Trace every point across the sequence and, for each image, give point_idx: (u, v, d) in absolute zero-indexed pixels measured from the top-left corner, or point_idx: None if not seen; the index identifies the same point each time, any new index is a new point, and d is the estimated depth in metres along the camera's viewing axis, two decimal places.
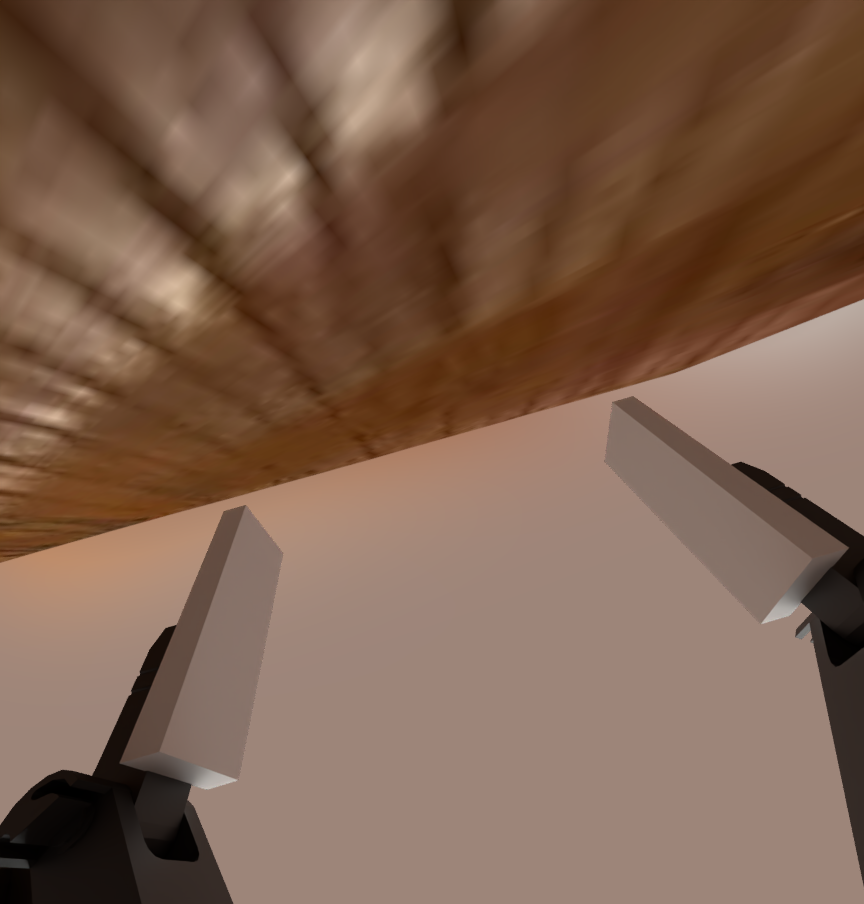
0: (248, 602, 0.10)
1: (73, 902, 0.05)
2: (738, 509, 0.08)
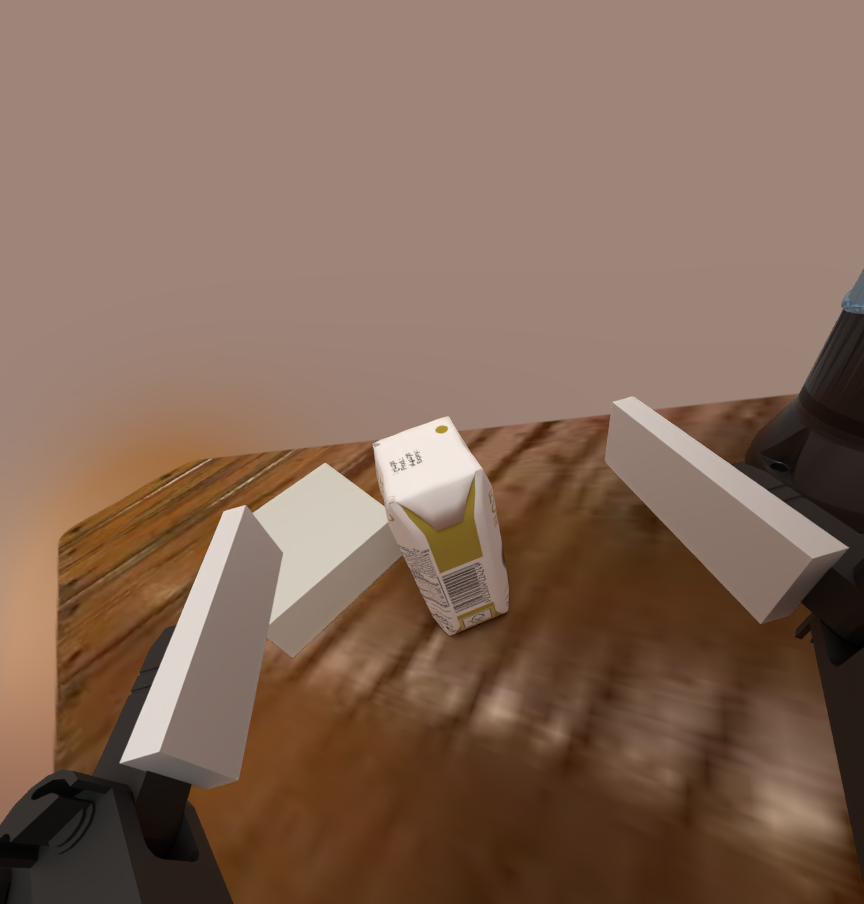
0: (248, 602, 0.10)
1: (73, 902, 0.05)
2: (738, 509, 0.08)
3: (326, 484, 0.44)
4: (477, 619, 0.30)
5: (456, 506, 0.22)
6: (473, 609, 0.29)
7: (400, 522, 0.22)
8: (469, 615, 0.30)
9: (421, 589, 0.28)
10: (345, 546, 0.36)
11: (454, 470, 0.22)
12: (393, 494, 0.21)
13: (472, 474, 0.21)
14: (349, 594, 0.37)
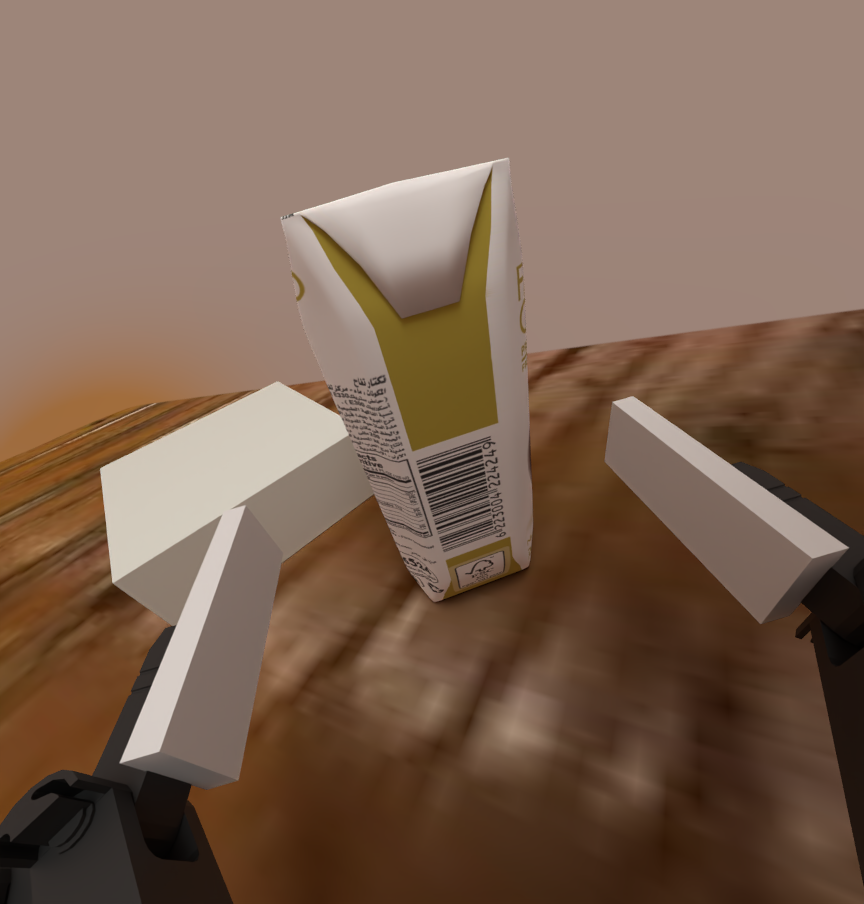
0: (248, 602, 0.10)
1: (73, 902, 0.05)
2: (738, 509, 0.08)
3: (272, 401, 0.32)
4: (481, 571, 0.18)
5: (447, 257, 0.10)
6: (475, 548, 0.17)
7: (317, 288, 0.09)
8: (468, 561, 0.17)
9: (382, 504, 0.15)
10: (279, 465, 0.23)
11: None
12: None
13: (485, 170, 0.09)
14: (285, 542, 0.24)
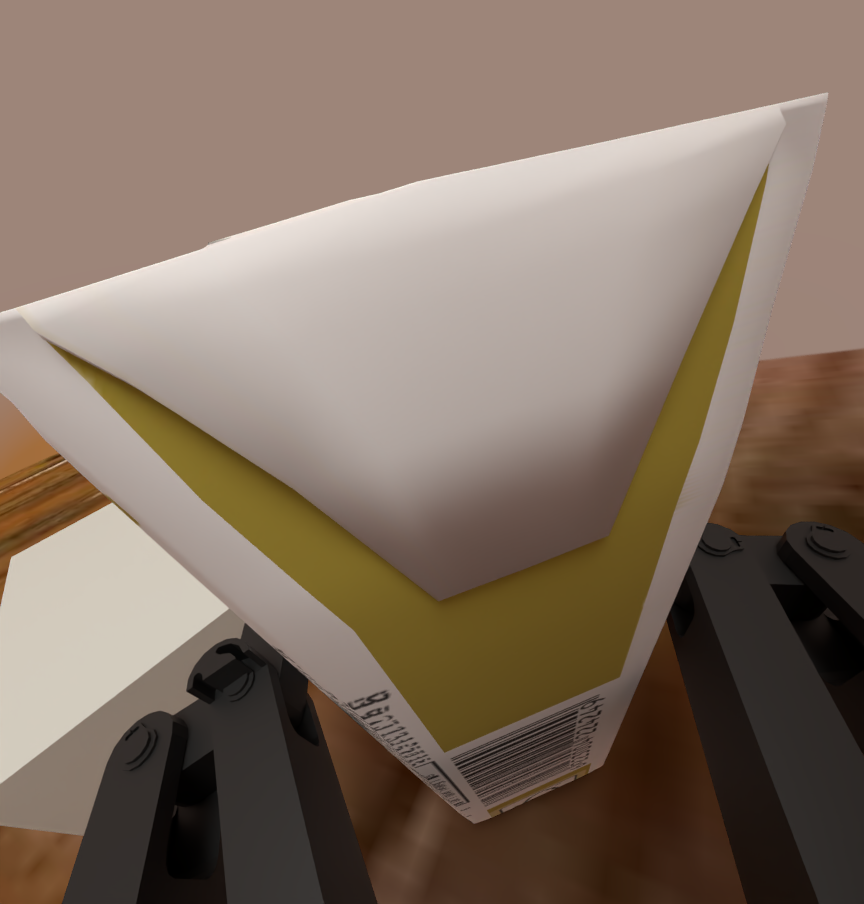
0: None
1: (240, 743, 0.06)
2: None
3: None
4: (537, 795, 0.11)
5: (591, 422, 0.03)
6: (535, 787, 0.10)
7: (159, 536, 0.03)
8: (521, 798, 0.10)
9: (381, 744, 0.09)
10: None
11: None
12: (68, 291, 0.02)
13: (751, 138, 0.03)
14: None
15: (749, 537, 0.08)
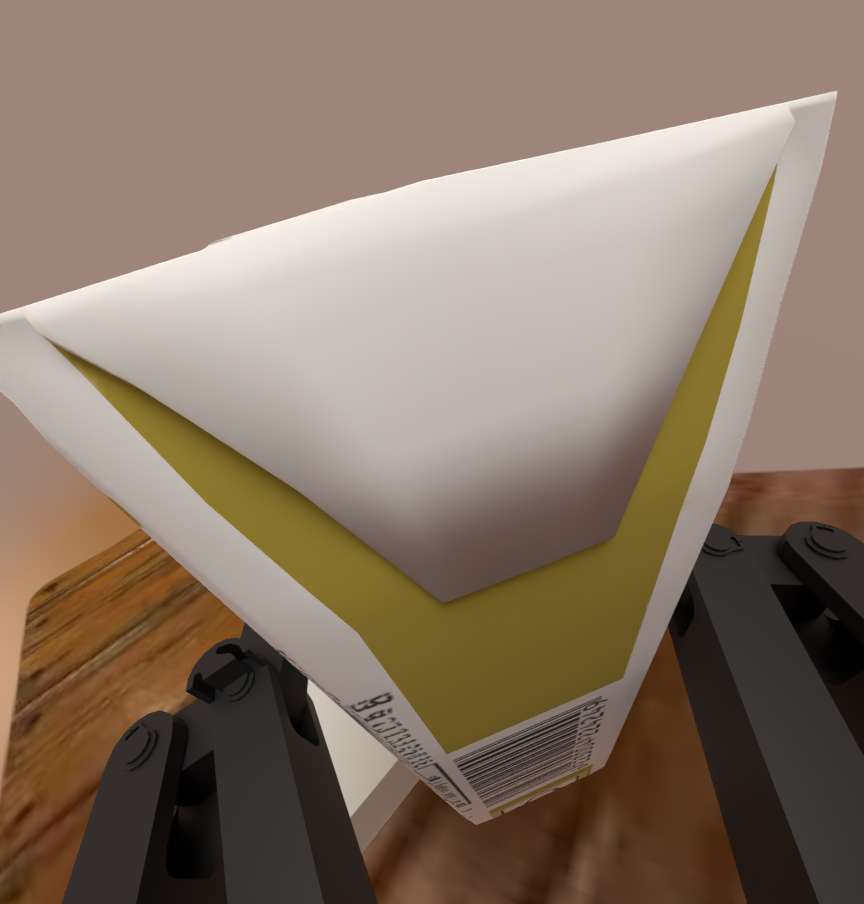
0: None
1: (240, 743, 0.06)
2: None
3: None
4: None
5: (596, 423, 0.03)
6: (537, 788, 0.10)
7: (162, 539, 0.03)
8: (522, 800, 0.10)
9: (383, 745, 0.09)
10: None
11: None
12: (71, 292, 0.02)
13: (759, 138, 0.02)
14: None
15: (749, 537, 0.08)
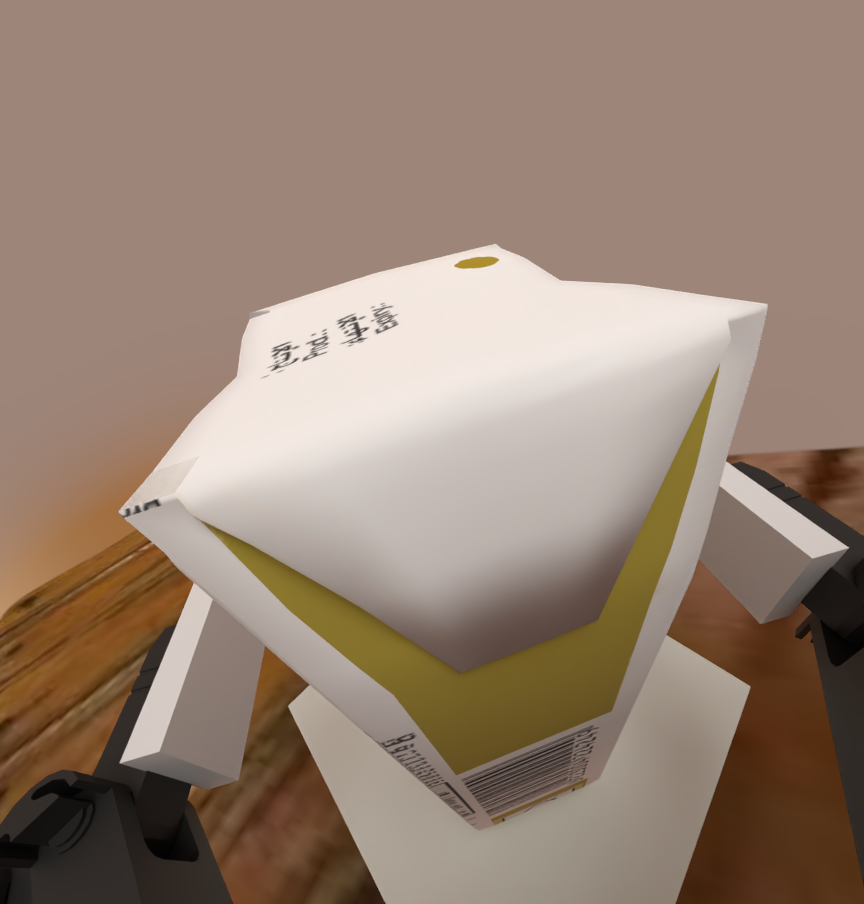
0: None
1: (73, 902, 0.05)
2: (738, 509, 0.08)
3: None
4: None
5: (583, 541, 0.04)
6: (535, 799, 0.11)
7: (248, 626, 0.04)
8: (522, 808, 0.11)
9: None
10: (664, 786, 0.14)
11: (578, 329, 0.04)
12: (192, 455, 0.03)
13: (706, 341, 0.03)
14: None
15: None
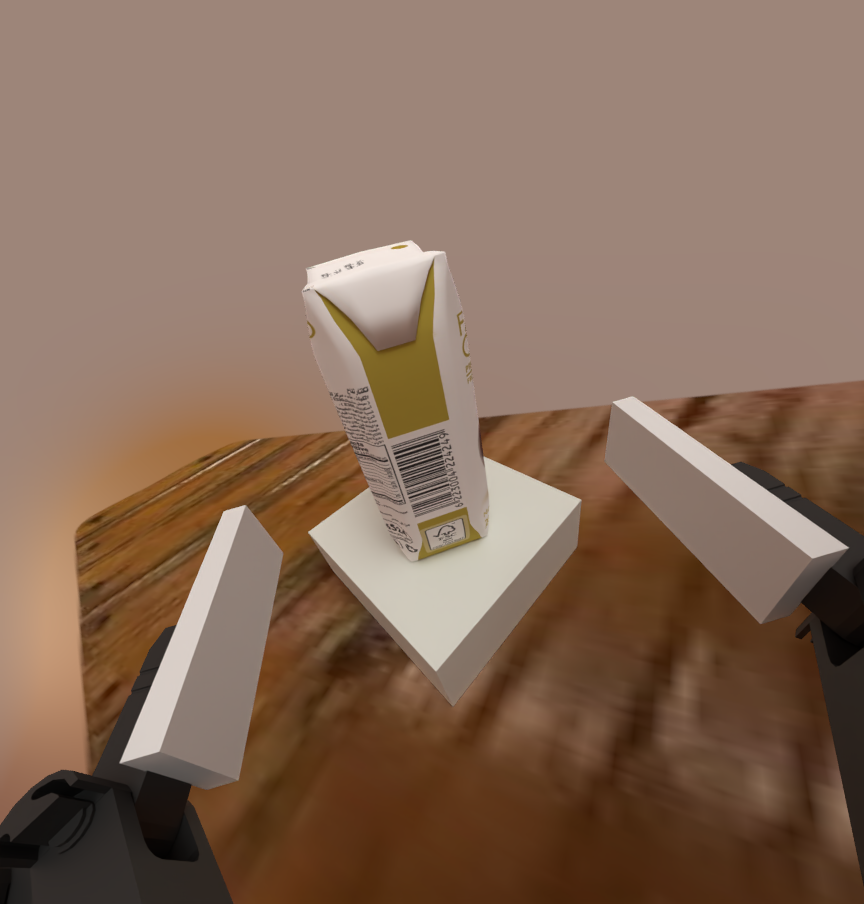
0: (248, 602, 0.10)
1: (73, 902, 0.05)
2: (738, 509, 0.08)
3: None
4: (446, 534, 0.23)
5: (407, 312, 0.15)
6: (439, 515, 0.22)
7: (323, 331, 0.15)
8: (434, 525, 0.22)
9: (369, 480, 0.21)
10: (521, 541, 0.25)
11: (405, 258, 0.15)
12: (312, 285, 0.14)
13: (430, 260, 0.14)
14: (519, 611, 0.26)
15: None
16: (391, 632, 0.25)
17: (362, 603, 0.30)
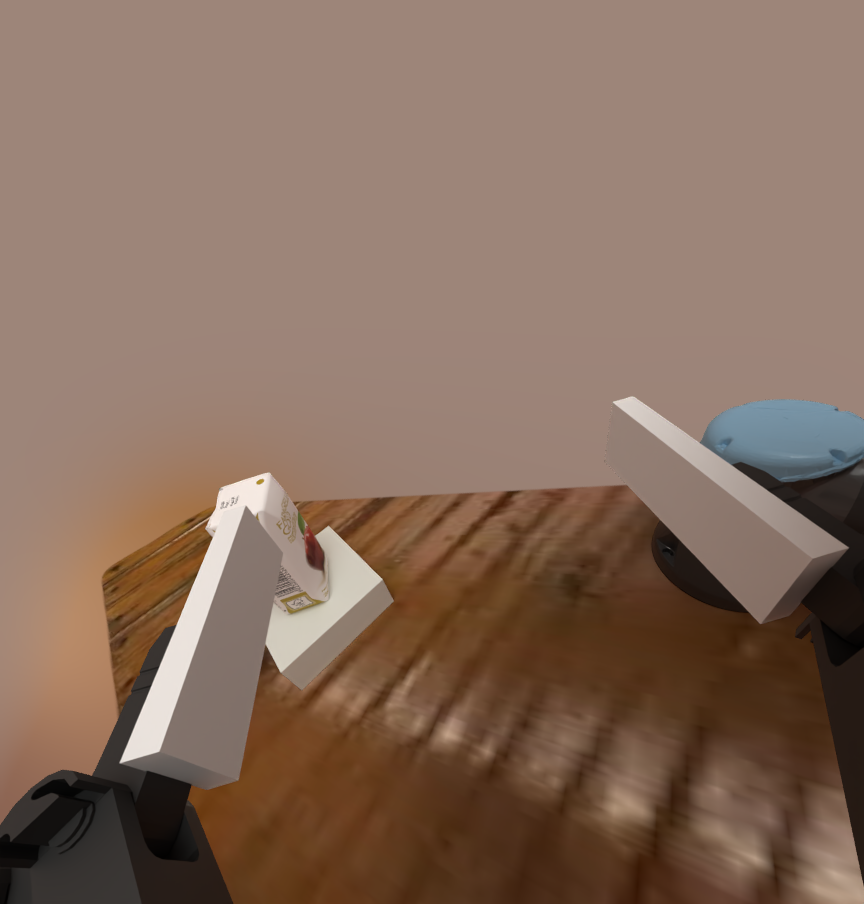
0: (248, 602, 0.10)
1: (73, 902, 0.05)
2: (738, 509, 0.08)
3: (329, 547, 0.56)
4: (298, 603, 0.46)
5: None
6: (291, 596, 0.45)
7: None
8: (290, 600, 0.45)
9: None
10: (343, 604, 0.48)
11: None
12: (210, 523, 0.37)
13: (256, 513, 0.37)
14: (345, 640, 0.48)
15: None
16: None
17: None
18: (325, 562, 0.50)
